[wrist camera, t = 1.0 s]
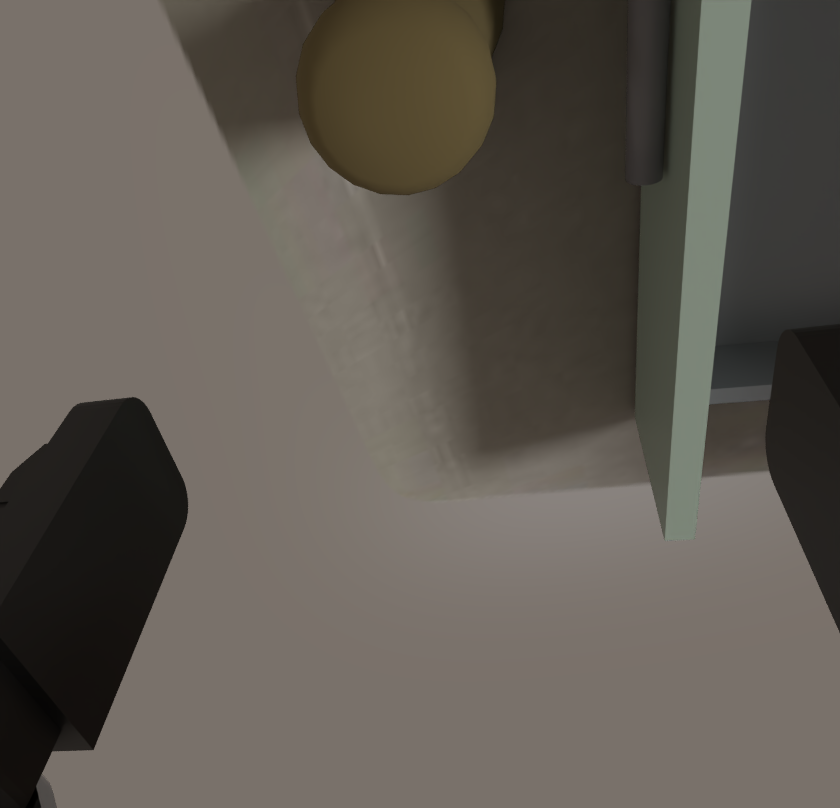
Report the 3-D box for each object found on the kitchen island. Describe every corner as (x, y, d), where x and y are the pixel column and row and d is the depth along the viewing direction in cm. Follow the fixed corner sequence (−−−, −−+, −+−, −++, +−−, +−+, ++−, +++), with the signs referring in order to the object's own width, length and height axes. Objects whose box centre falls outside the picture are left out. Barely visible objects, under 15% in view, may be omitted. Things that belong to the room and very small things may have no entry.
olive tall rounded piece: (353, 108, 29) (299, 240, 21) (318, -74, 26) (235, -4, 17) (510, 88, 28) (522, 217, 20) (497, -103, 25) (506, -45, 16)
